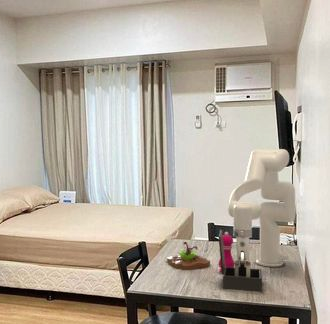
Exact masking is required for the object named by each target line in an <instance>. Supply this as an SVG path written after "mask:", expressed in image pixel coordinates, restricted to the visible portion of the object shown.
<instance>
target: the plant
mask: <svg viewBox="0 0 330 324" xmlns="http://www.w3.org/2000/svg"><path fill="white" fill-rule="evenodd" d="M182 243H183V244H182V245H185V246H186V248H185V250H183V251H182V250H181V251H180V252H179V251H177V254H175V255H171V256H168V257H166V262H167V263H168V264H169V265H170V266H172V267H173V268H175V269H182V270H185V271H186V270H187V271H192V270H196V269H204V268H207V267H209V266H210V265H211V260H209V259H207V258H206V257H203V256H201V255H198V254H197V251H198V250H199V247H198V246H192V247H189V244H188V242H187V241H182ZM193 249H195V251H193ZM196 250H197V251H196Z"/></svg>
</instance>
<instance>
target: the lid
mask: <svg viewBox="0 0 330 324" xmlns="http://www.w3.org/2000/svg"><path fill="white" fill-rule="evenodd" d="M223 235H224V234H223V229H219V233H218V245H219V246H218V247H219V257H220V258H219V260H220V259H221V268H220V269H221V270H222V273H221V276H223V275H224V271H225V256H224V245H223Z"/></svg>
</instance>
